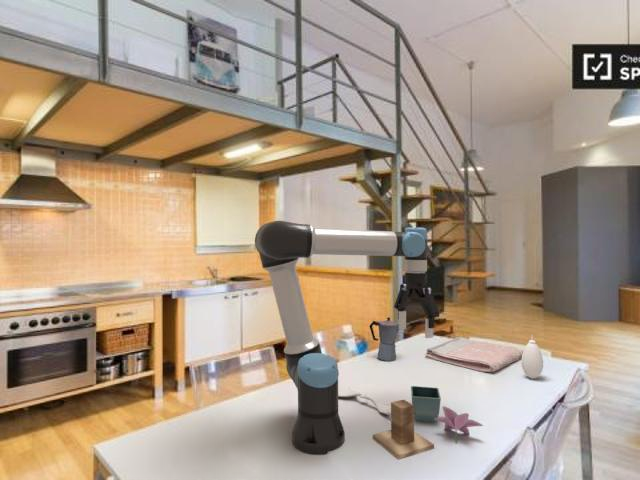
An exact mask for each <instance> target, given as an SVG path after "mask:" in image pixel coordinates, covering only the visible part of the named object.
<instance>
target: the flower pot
mask: <svg viewBox="0 0 640 480" xmlns="http://www.w3.org/2000/svg"><path fill="white" fill-rule="evenodd" d="M410 391H411V404H412V405H414V419H416V421H417V422H419V423H422V422H423V423H431V424H433V423H436V421H437V420H435V419H434V418H438V417H439V415H440V410H441V409H440V408H441V401H442V400H441V399H442V398H441V394H440V389H439V388H438V387H429V386H428V387H427V386H416V385H411V386H410Z"/></svg>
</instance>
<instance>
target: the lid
mask: <svg viewBox="0 0 640 480" xmlns="http://www.w3.org/2000/svg"><path fill="white" fill-rule="evenodd" d="M390 405H391V416H390V424H391V425H390V429H389V430H385V431H382V432H379V433H375V434H372V439H373V440H374V441H375V440H376V441H375V442H376V443H378V444H379V445H380V446H381V445H382V446H381V447H382V448H384V449H385V450H386V449H387V450H386V451H388V452H389V453H390V454H391V455H392V454H393V455H392V456H394V457H395V458H396V459H397V458H398V459H397V460H401V459H405V458H408V457H411V456H413V455H418V454H420V452H421V453H423V451H424V452H427V451H430V450H433V449H435V444H434V443H432V442H431V441H430V440H428V439H427V438H425V437H424V436H422V435H420V434H419V433H418V432H416V431H415V416H414V405H412V402H411V403H410V402H409V401H407V400H406V399H400V400H395V401H392V402H390ZM426 450H427V451H426ZM410 455H411V456H410ZM407 456H408V457H407ZM404 457H405V458H404Z"/></svg>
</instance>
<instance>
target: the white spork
mask: <svg viewBox="0 0 640 480" xmlns="http://www.w3.org/2000/svg"><path fill="white" fill-rule="evenodd" d="M351 397H360V398H362V399H366V400H368V401H370V402H372V403H373V404H374V406H375V407H376V408H377V410H378V412H380V413H381V414H384V415H386V416H389V417H391V404H388V405H387V404H382V403H380V402H379V401H378V400H377V399H375V398H374V397H372V396H370V395H368V394H367V393H361V392H357V390H355V389H354V388H351V387H350V386H346V385H344V384H340V383H338V398H351Z"/></svg>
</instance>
